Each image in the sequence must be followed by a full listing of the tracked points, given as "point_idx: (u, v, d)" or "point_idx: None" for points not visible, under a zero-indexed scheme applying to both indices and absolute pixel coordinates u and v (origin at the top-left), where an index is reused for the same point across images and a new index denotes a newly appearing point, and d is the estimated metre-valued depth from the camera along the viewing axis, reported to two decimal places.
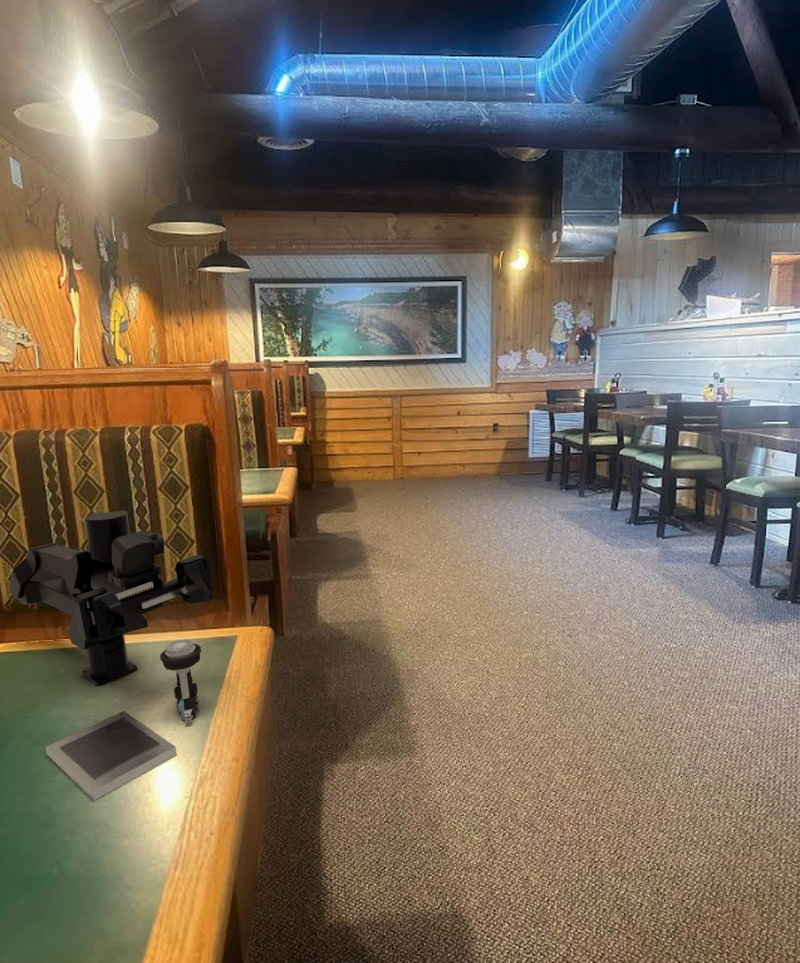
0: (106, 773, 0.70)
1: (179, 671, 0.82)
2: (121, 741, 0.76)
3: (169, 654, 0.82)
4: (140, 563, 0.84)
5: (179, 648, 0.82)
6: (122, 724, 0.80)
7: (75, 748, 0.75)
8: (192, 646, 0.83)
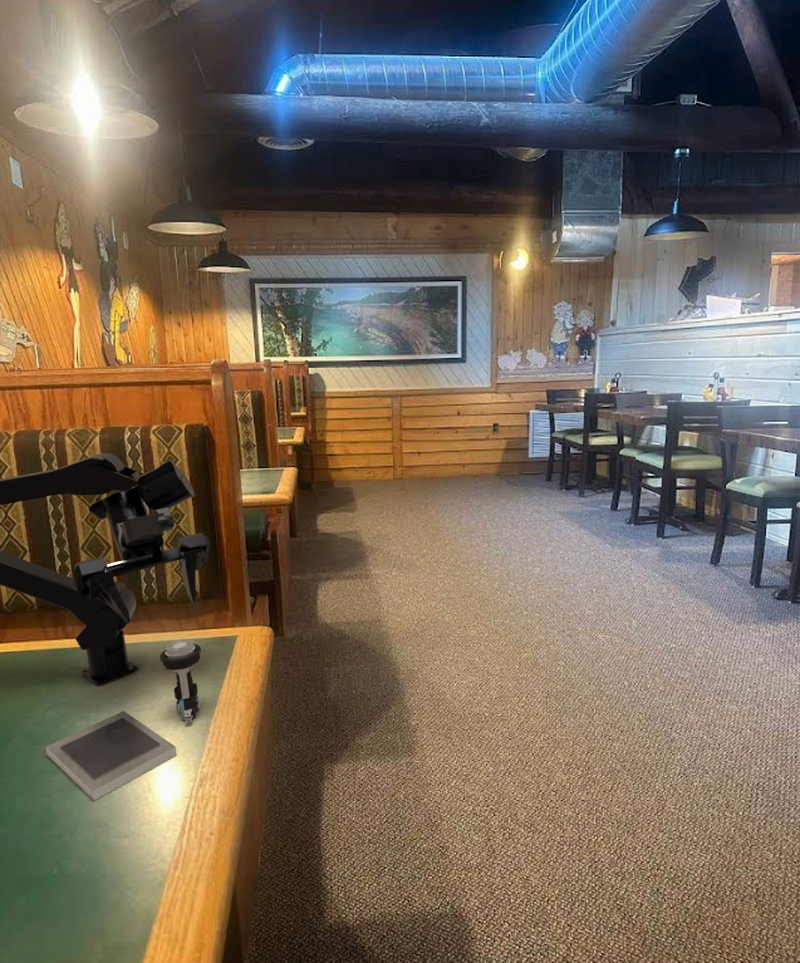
0: (106, 773, 0.70)
1: (179, 671, 0.82)
2: (121, 741, 0.76)
3: (169, 654, 0.82)
4: (145, 540, 0.88)
5: (179, 648, 0.82)
6: (122, 724, 0.80)
7: (75, 748, 0.75)
8: (192, 646, 0.83)
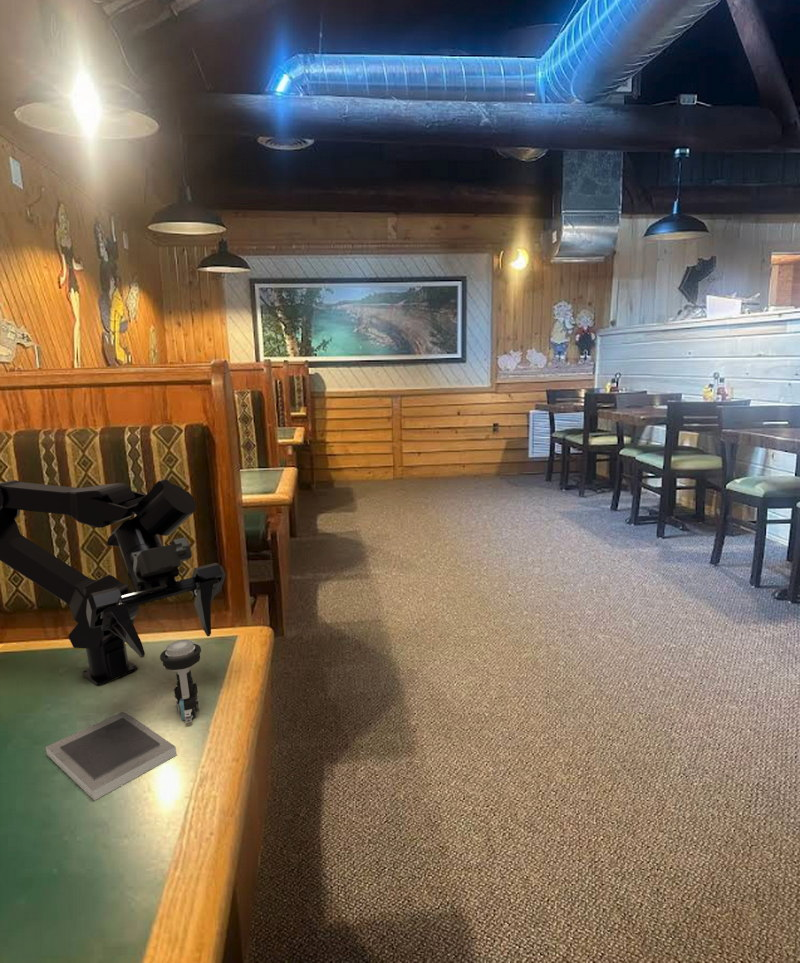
0: (106, 773, 0.70)
1: (179, 671, 0.82)
2: (121, 741, 0.76)
3: (169, 654, 0.82)
4: (161, 570, 0.86)
5: (179, 648, 0.82)
6: (122, 724, 0.80)
7: (75, 748, 0.75)
8: (192, 646, 0.83)
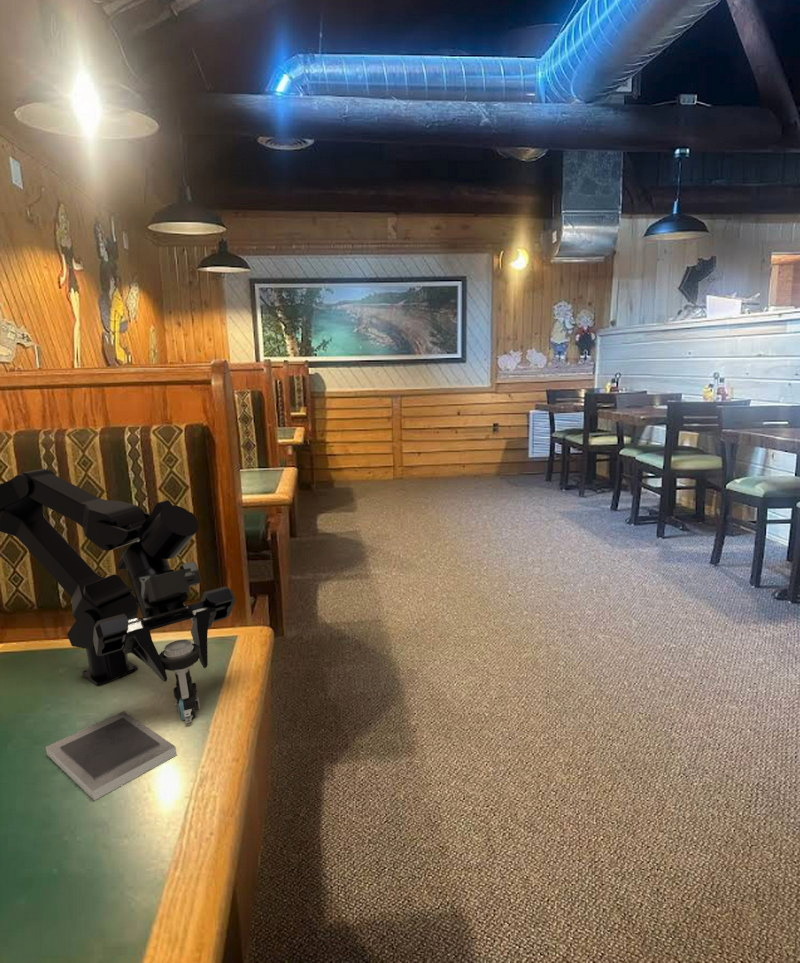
0: (106, 773, 0.70)
1: (178, 671, 0.82)
2: (121, 741, 0.76)
3: (167, 654, 0.82)
4: (170, 596, 0.83)
5: (177, 648, 0.82)
6: (122, 724, 0.80)
7: (75, 748, 0.75)
8: (190, 646, 0.83)
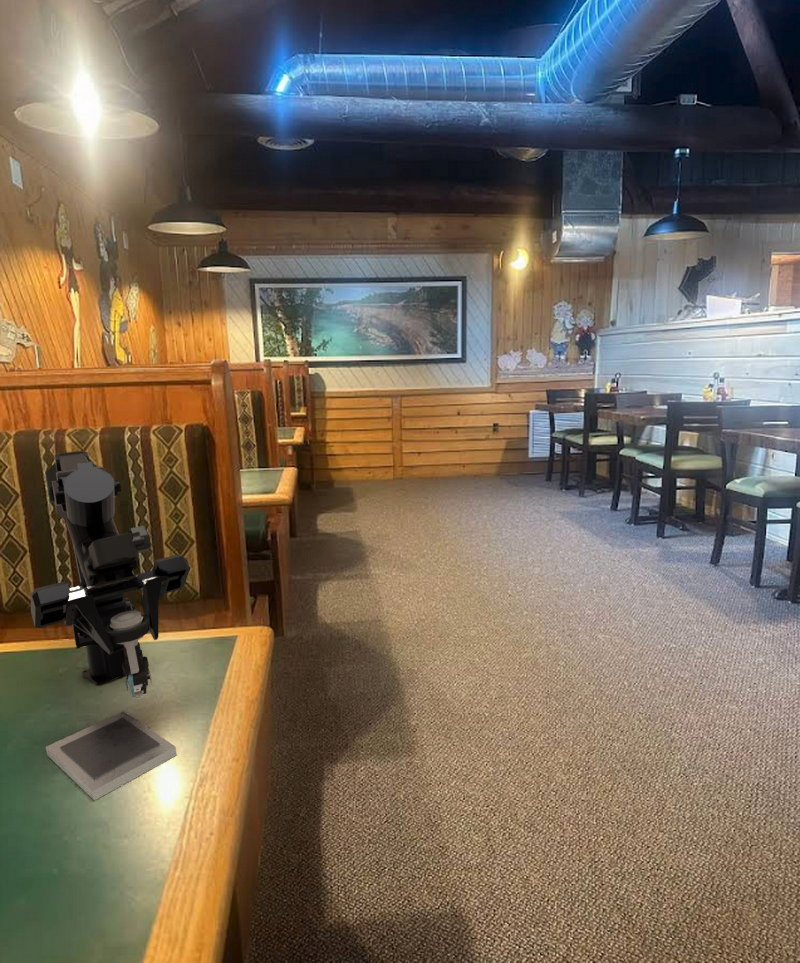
0: (106, 773, 0.70)
1: (126, 644, 0.76)
2: (121, 741, 0.76)
3: (114, 626, 0.75)
4: (116, 563, 0.77)
5: (125, 619, 0.76)
6: (122, 724, 0.80)
7: (75, 748, 0.75)
8: (139, 617, 0.77)
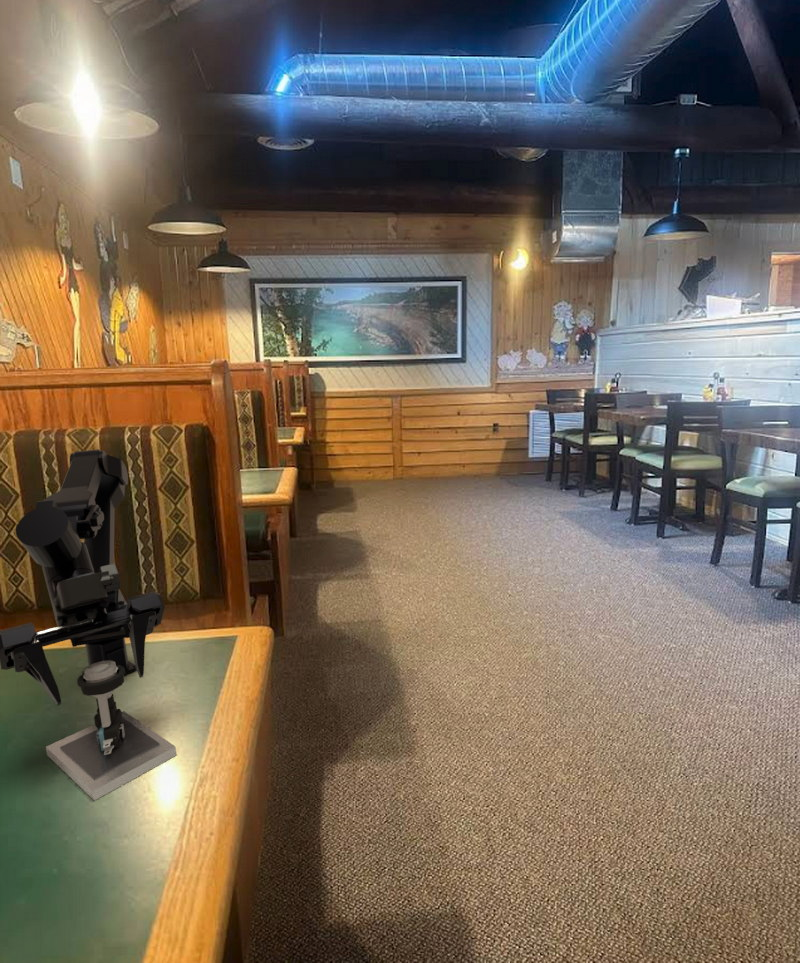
0: (106, 773, 0.70)
1: (98, 696, 0.74)
2: (121, 741, 0.76)
3: (87, 677, 0.73)
4: (85, 602, 0.74)
5: (98, 671, 0.74)
6: None
7: (75, 748, 0.75)
8: (114, 668, 0.75)
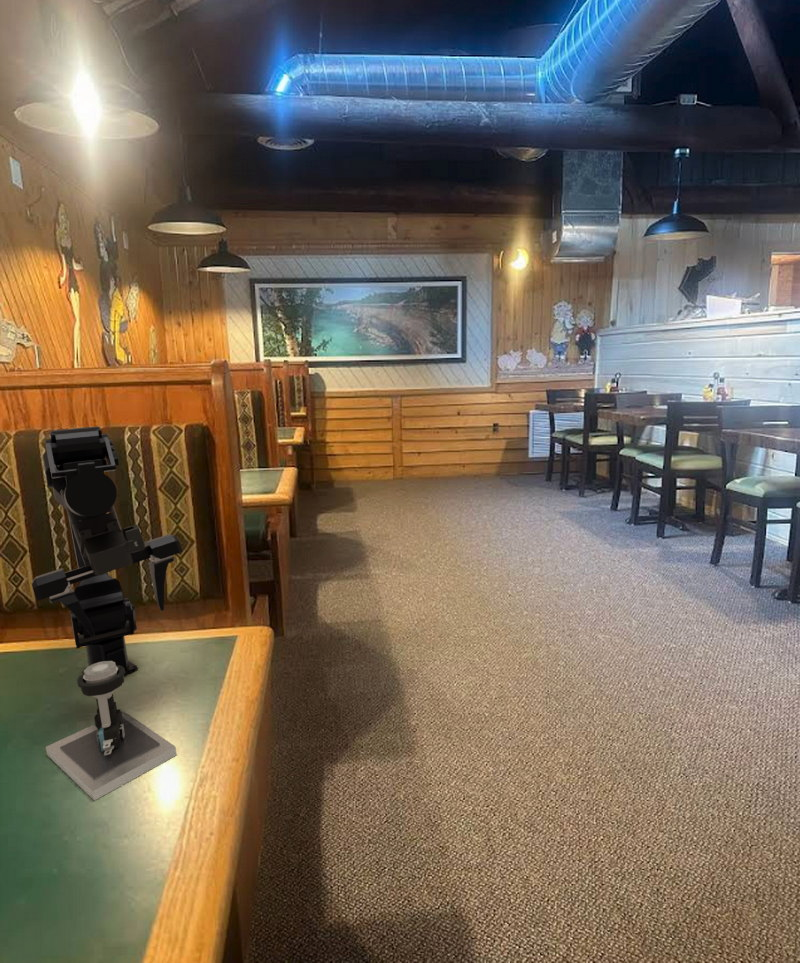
0: (106, 773, 0.70)
1: (98, 697, 0.73)
2: (121, 741, 0.76)
3: (87, 678, 0.73)
4: None
5: (98, 671, 0.74)
6: None
7: (75, 748, 0.75)
8: (114, 669, 0.75)
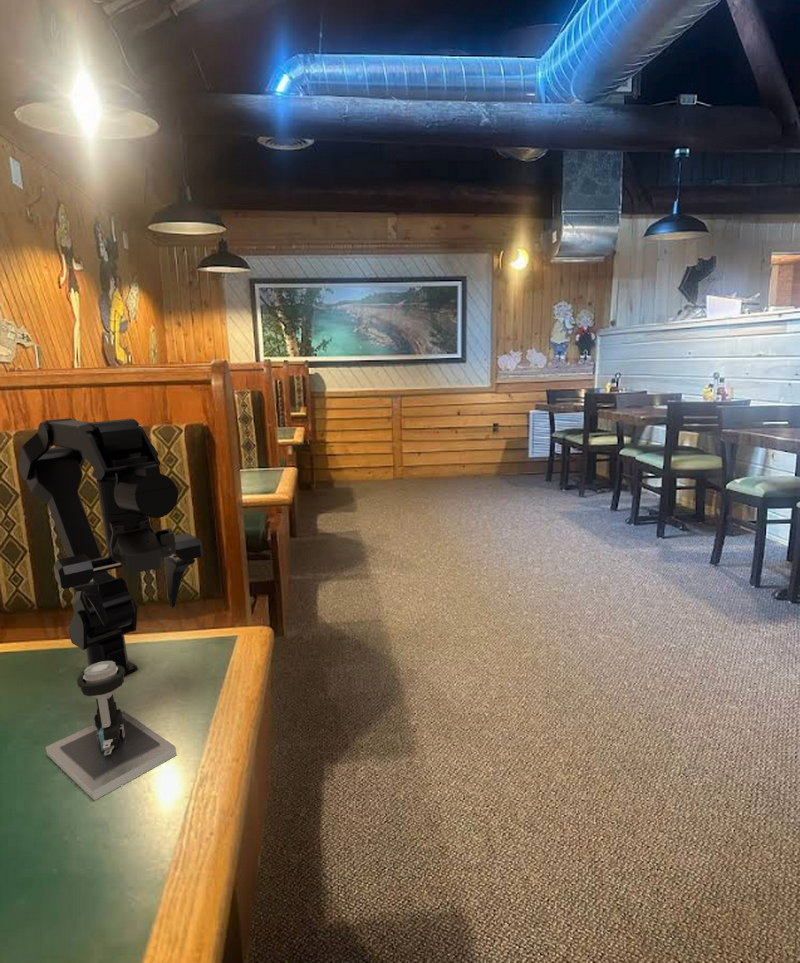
0: (106, 773, 0.70)
1: (98, 697, 0.73)
2: (121, 741, 0.76)
3: (86, 678, 0.73)
4: None
5: (98, 671, 0.74)
6: None
7: (75, 748, 0.75)
8: (114, 669, 0.75)
